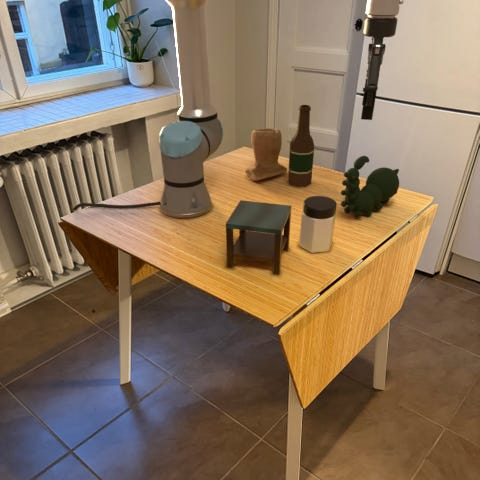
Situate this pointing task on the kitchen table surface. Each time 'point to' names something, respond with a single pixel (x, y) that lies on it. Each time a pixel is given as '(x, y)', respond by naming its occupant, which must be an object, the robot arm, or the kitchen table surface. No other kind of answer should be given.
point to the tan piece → (266, 154)
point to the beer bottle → (301, 151)
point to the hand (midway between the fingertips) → (366, 112)
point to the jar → (317, 223)
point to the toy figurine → (368, 189)
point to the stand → (258, 232)
